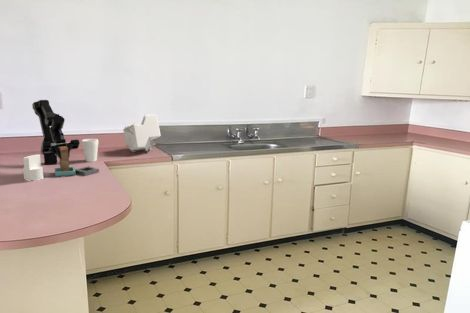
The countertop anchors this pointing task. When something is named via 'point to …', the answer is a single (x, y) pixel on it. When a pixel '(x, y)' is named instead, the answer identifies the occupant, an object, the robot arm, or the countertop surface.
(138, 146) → the white notched angular block
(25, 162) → the cylinder with rectangular tab
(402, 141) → the countertop surface
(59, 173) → the tray
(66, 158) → the pin
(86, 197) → the countertop surface
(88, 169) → the grey square flat frame
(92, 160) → the foam cup
